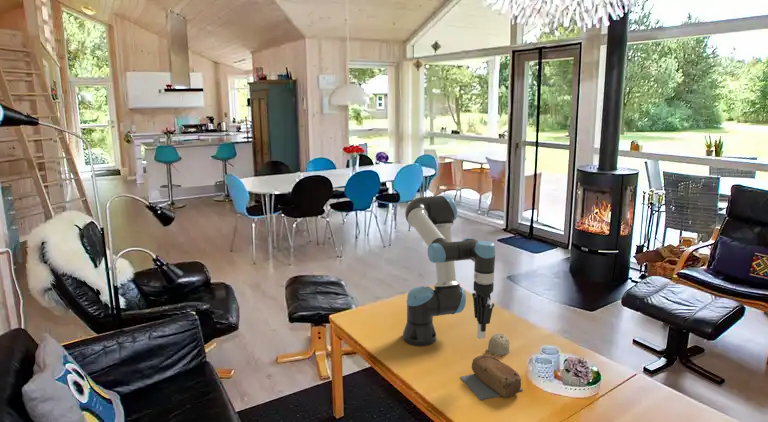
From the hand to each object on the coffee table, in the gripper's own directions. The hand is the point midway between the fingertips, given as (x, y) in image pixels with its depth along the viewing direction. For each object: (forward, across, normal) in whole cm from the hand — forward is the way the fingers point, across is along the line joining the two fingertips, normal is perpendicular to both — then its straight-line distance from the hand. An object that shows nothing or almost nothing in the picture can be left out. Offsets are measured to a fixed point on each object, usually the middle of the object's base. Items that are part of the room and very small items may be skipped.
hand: (481, 337), depth 209 cm
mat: (+16, +9, 0) cm, 18 cm away
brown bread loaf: (+11, -1, +1) cm, 11 cm away
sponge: (+16, -14, +17) cm, 27 cm away
